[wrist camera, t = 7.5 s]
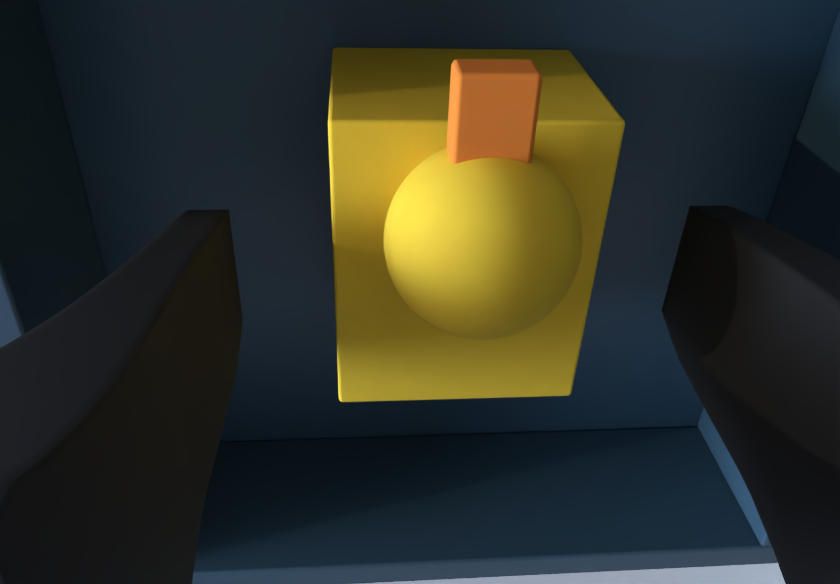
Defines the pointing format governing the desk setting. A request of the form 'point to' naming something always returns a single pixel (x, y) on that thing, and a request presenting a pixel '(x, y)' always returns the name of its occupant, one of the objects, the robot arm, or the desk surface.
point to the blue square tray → (314, 273)
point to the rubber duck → (465, 219)
